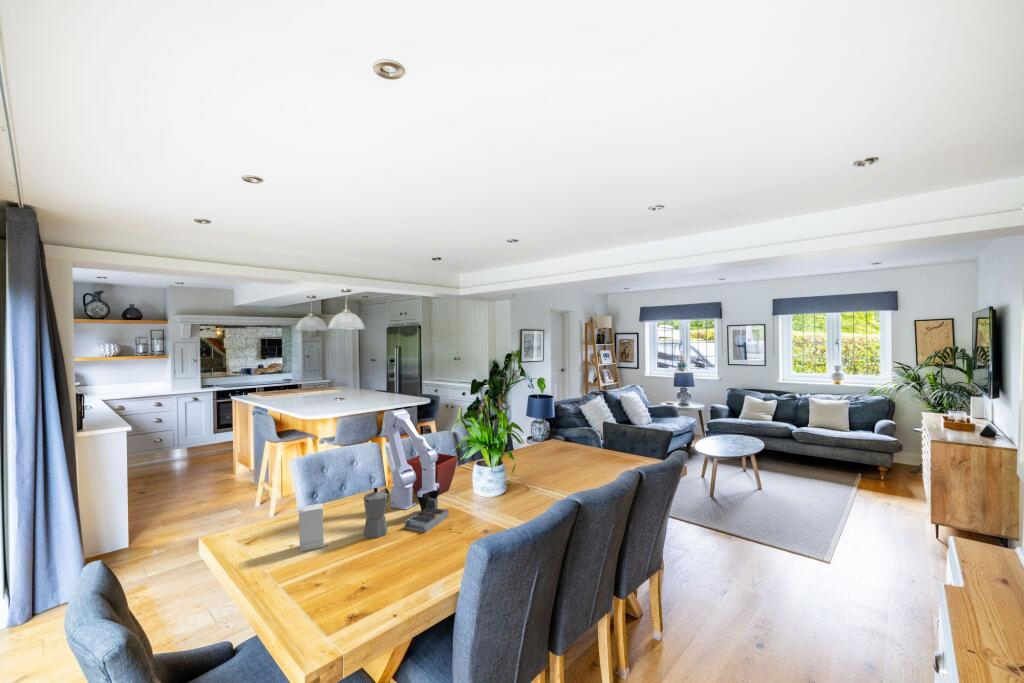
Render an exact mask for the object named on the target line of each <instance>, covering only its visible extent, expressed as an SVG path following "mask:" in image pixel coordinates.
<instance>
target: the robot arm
mask: <svg viewBox="0 0 1024 683" xmlns="http://www.w3.org/2000/svg"><path fill="white" fill-rule="evenodd" d="M410 418H411V415H410V414H409V412H408V411H407V410H406V408H401V409H396V410H389V411H387V412H386V413H385V416H384V417H383V421H384V425H385V431H386V436H387V440H388V443H389V447H390V450H391V455H392V458H393V463H394V467H395V468H394V469H393V471H392V473H391V475H392V484H393V486H392V487H391V490H390V505H389V507H390V508H395V509H400V510H406V511H407V510H409V509H410V508H413V507H414V506H417V502H413V487H412V486H413V483H414V482H415V480H416V474H415V472H414V471H413V469H412V466H410V465H409V464H407V461H406V460H407V458H406V454H405V451H404V446H403V442H402V439H401V438H402V437H401V435H400V434H401V433H400V429H401V428H402V429H403V430H404V431H405V433H407V435H408V436H409V438H410V439H411V441H412V442H411V444H412V446H413V447H414V449H415V451H416V452H417V454H418V456H419V455H420V457H419V460H420V462H421V467H422V488H421V489H420V491H419V492H417V493H416V497H415V498H416V499H417V501H418V504H419V507H420V511H421V510H423V509H426V508H427V502H428V499H429V498H435V499H438V497H439V495H438V494H439V492H440V489H437V488H439V483H435V462H436V461H437V459H438V454H439V452H437V450H436V449H434V448H432V447H431V446H430V445H429V443H428V442H427V441H426V438H425V437H424V436H421V435H419V433H418V432H417V430H416V428H415V426H414V424H413V422H412V421H411V419H410ZM426 493H429V496H427V495H425V494H426Z"/></svg>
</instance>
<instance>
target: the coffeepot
mask: <svg viewBox="0 0 1024 683" xmlns="http://www.w3.org/2000/svg"><path fill="white" fill-rule="evenodd" d="M378 489H379V488H378V487H374V488H373V491H372V492H369V493H365V494H364V496H363V504H364V510H365V515H366V518H365V525H364V530H363V536H365V537H366V538H369V539H376V538H377V539H378V538H380V537H384V536H385V535H387V533H388V526H387V520H386V519H387V518H386V515H385V512H386V509H387V506H388V500H389V494H390V490H389V489H388V488H387V487H385V488H383V489H381V490H379V491H378Z"/></svg>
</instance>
